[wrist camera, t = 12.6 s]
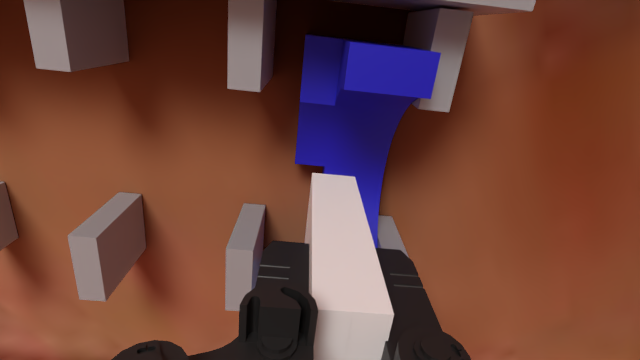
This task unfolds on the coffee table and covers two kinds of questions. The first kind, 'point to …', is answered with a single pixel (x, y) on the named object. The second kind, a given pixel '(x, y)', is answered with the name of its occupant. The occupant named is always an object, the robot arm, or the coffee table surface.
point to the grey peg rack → (243, 74)
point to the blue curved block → (358, 107)
